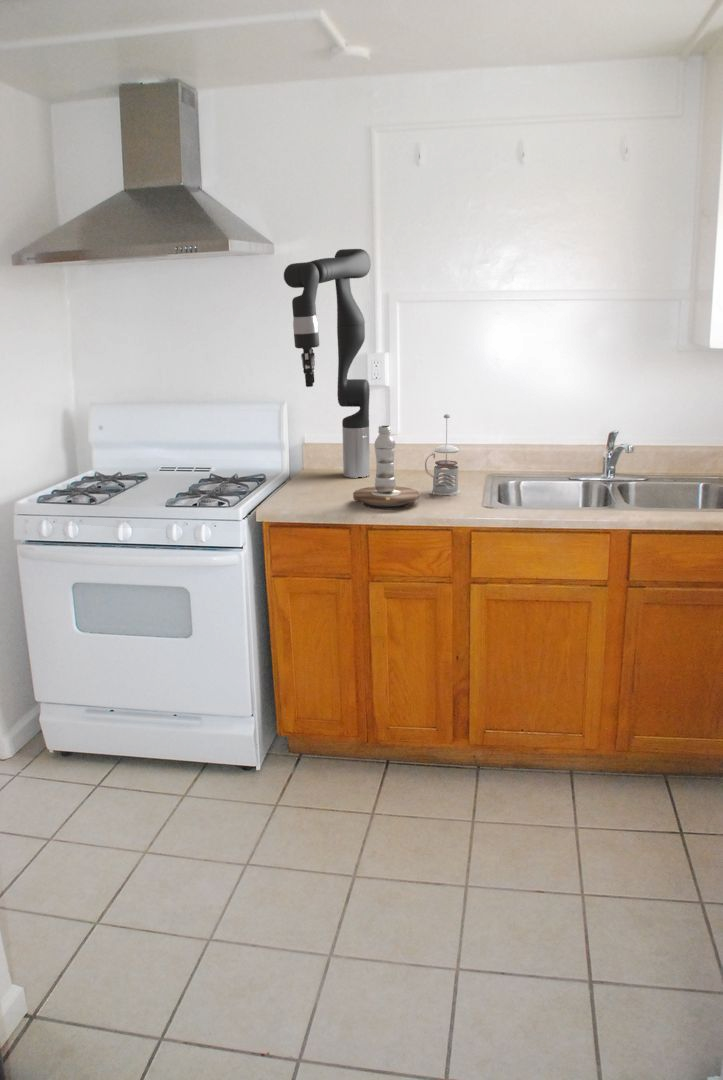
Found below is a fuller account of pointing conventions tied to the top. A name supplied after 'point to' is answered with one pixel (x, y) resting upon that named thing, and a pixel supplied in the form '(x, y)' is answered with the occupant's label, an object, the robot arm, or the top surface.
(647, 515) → the top surface
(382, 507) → the turntable base
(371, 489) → the turntable platter
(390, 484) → the plastic bottle
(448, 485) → the french press
